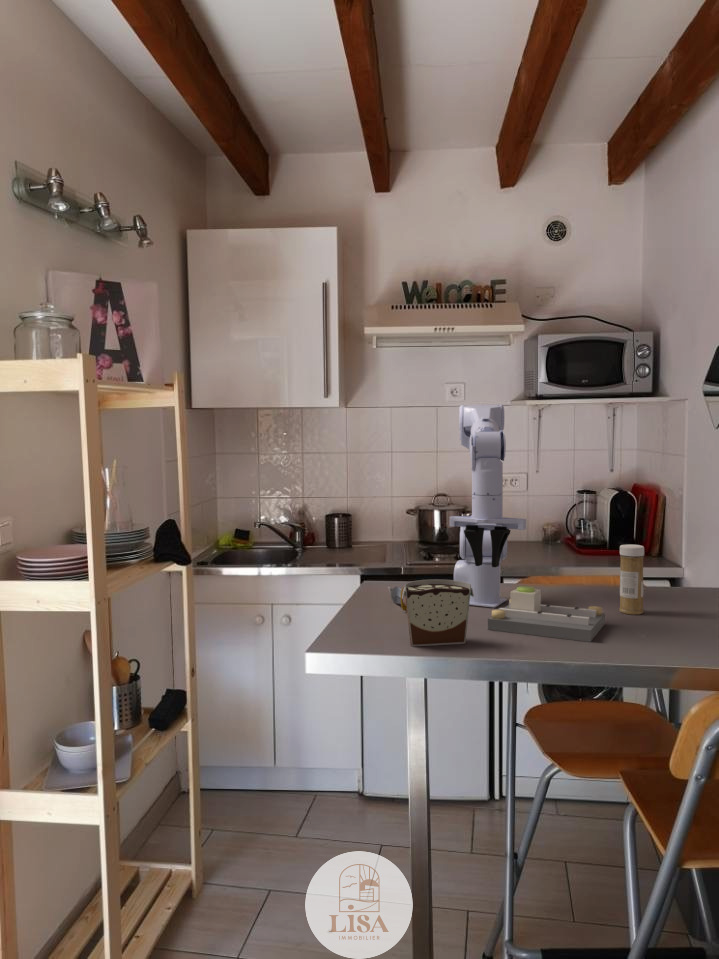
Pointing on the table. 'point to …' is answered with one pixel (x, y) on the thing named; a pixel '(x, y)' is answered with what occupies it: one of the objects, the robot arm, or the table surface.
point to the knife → (398, 596)
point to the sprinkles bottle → (631, 579)
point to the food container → (437, 611)
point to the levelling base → (550, 622)
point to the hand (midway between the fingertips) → (487, 566)
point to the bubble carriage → (525, 599)
